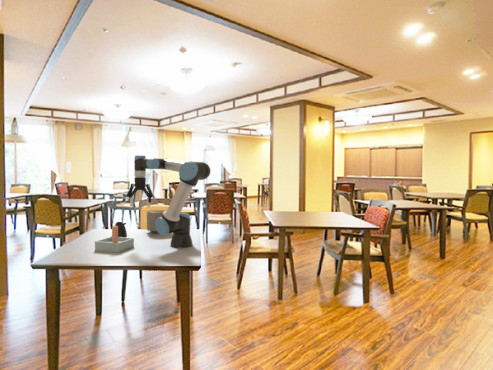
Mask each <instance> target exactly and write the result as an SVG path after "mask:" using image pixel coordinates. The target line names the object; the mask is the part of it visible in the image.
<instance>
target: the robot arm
mask: <svg viewBox="0 0 493 370" xmlns="http://www.w3.org/2000/svg"><path fill="white" fill-rule="evenodd" d="M133 162H134V175H133V176H134V183H130V187H129V189H128V191H127V193H126V196H127V197H128V200H129V207H134V195H135V194H136V192H137V191H142V192H143V194H145V196H147V198H146V207H147V208H150V207H151V203H152V199H153V197H155V196H154V194H153V191H152V189H151V185H150V183H146V179H147V178H146V174H147V173H146V170H165V171H171V172H178V175H179V181H180V182H179V183H178V186H177V188H176V190H175V192H174V194H173V196H172V199H171V201H170V203H169V206H168V207H167V209H166V210H167V211H164V213H163V215H162V217H159V218H157V220H156V222H155V227H156V230H157V231H158V232H159V233H158V234H159V235H162V236H163V235H169V234H172V237H171V240H170V247H172V248H178V247H182V248H188V246H189V247H191V245H192V246H193V240H192V237H191V216H190V214H189V213H187V212H186V213H185V212H182V211H183V208H184V206H185V204H186V202H187V199H188V198H189V196H190V193H191V192H192V189H193V187H196V186H197V184H198V182H199V181H203V180H206V179H208V178H209V176H210V175H211V167H210V165H208V164H207V163H206V162H204V161H180V160H173V159H169V158H156V157H147V158H146V155H141V154H139V155H138V154H136V155H135V156H134V161H133Z"/></svg>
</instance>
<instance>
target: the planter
mask: <svg viewBox="0 0 493 370" xmlns="http://www.w3.org/2000/svg"><path fill="white" fill-rule="evenodd" d="M164 211H167V209H152V210H147V211H146V230H147V231H148V232H151V233H153V234H160V233H159V232H158V231H157V230H156V227H155V222H156V220H157V218H159V217H162V215H163V213H164Z"/></svg>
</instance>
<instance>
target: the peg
mask: <svg viewBox="0 0 493 370" xmlns="http://www.w3.org/2000/svg"><path fill="white" fill-rule="evenodd" d="M111 236H112V242H113V243H118V226H115V225H113V226H111Z"/></svg>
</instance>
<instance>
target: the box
mask: <svg viewBox="0 0 493 370" xmlns="http://www.w3.org/2000/svg"><path fill="white" fill-rule="evenodd" d="M134 241H135V238H134V237H118V243H113V242H112V235H111V236H109V237H105V238H102V239H98V240H95V241H94V251H97V252H106V253H107V252H108V253H116V254H117V253H118V254H119V253H122V252H124V251H127V250H129V249H133V248H135V242H134Z"/></svg>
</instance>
